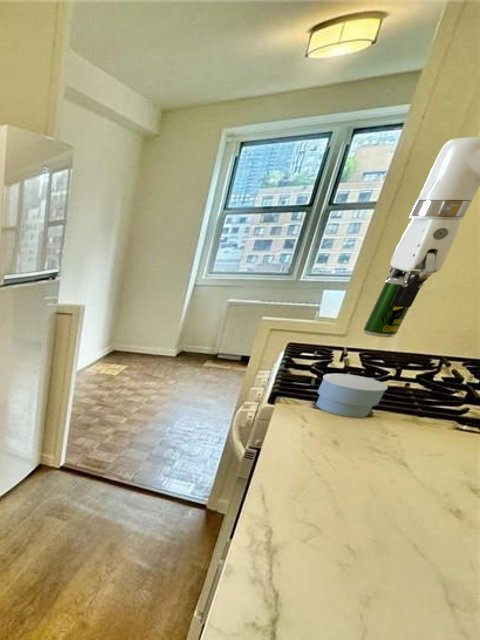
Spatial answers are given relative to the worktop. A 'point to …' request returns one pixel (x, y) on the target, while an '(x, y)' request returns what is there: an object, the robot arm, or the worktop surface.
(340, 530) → the worktop surface
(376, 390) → the yogurt tub
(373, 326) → the beer can
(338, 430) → the worktop surface
